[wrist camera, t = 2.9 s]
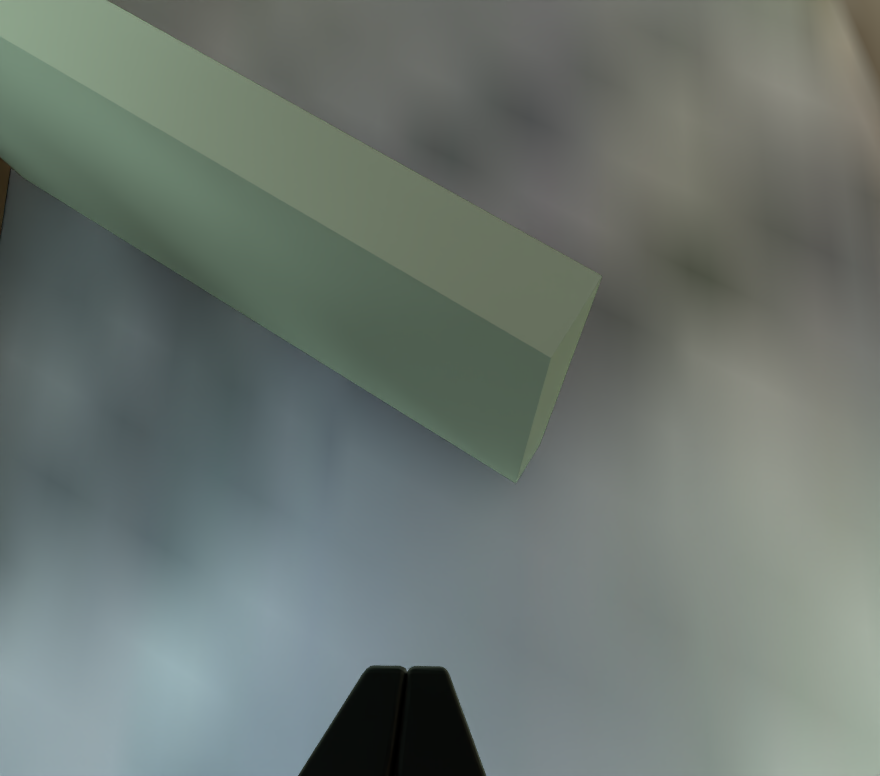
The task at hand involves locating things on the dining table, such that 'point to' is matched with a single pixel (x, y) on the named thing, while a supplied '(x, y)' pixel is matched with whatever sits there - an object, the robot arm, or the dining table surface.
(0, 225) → the walnut box
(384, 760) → the robot arm
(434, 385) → the door
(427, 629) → the dining table surface
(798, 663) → the dining table surface
